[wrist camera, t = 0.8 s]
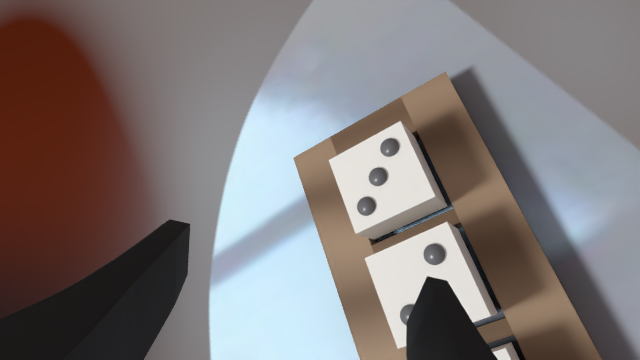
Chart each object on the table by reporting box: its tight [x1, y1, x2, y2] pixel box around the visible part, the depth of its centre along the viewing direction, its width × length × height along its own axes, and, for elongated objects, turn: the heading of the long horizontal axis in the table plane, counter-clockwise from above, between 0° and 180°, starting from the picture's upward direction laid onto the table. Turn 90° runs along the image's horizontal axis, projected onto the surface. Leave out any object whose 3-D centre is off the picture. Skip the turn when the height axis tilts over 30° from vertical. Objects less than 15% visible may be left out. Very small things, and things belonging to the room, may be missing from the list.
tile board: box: [294, 72, 602, 360], centre depth 26 cm, size 24×12×2 cm, turn 21°
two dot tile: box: [365, 222, 498, 349], centre depth 24 cm, size 5×5×3 cm
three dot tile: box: [329, 121, 447, 240], centre depth 27 cm, size 5×5×3 cm
